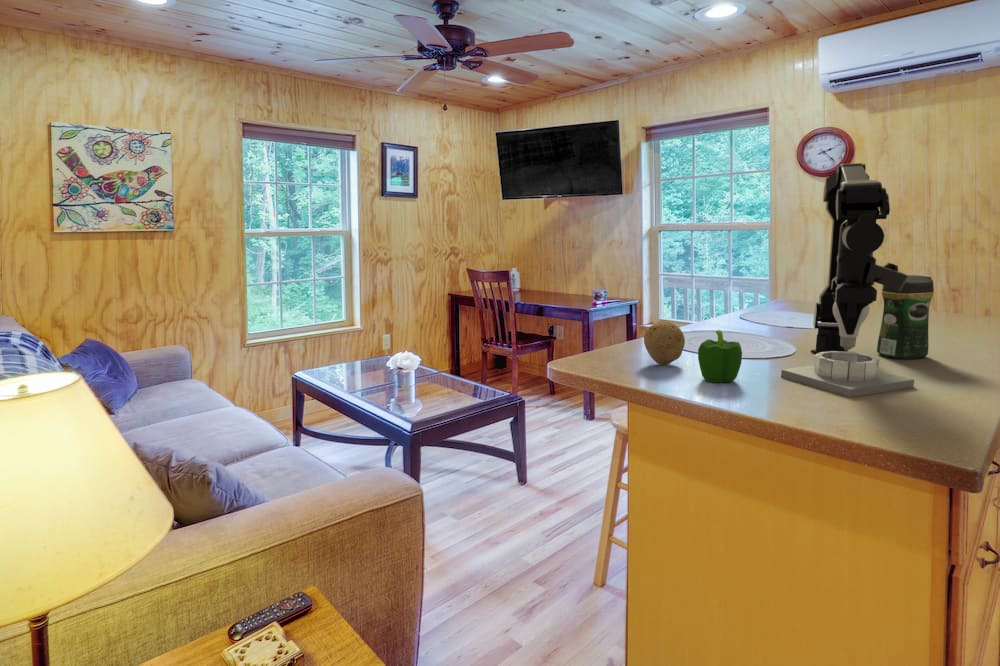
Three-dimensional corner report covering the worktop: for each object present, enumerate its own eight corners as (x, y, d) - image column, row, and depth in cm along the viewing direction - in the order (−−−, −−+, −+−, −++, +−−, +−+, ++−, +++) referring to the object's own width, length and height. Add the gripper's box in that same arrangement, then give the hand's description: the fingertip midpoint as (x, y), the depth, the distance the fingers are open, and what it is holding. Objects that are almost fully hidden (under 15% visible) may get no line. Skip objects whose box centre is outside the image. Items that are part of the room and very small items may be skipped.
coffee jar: (906, 351, 141) (914, 273, 138) (934, 358, 133) (943, 275, 130) (869, 353, 140) (876, 274, 136) (895, 360, 132) (903, 277, 129)
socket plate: (840, 368, 127) (840, 361, 126) (913, 387, 112) (914, 379, 112) (781, 376, 121) (781, 369, 121) (849, 397, 107) (850, 389, 106)
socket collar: (842, 365, 123) (843, 349, 122) (889, 377, 113) (891, 359, 113) (802, 371, 120) (804, 354, 119) (848, 383, 110) (850, 365, 109)
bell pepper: (736, 387, 114) (739, 337, 113) (693, 382, 119) (694, 333, 117) (744, 377, 121) (746, 329, 120) (703, 373, 126) (704, 327, 124)
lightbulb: (871, 350, 115) (877, 293, 113) (855, 354, 111) (860, 296, 109) (839, 345, 120) (844, 290, 118) (823, 349, 116) (827, 293, 114)
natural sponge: (652, 358, 140) (653, 316, 139) (690, 362, 135) (691, 319, 134) (637, 366, 133) (638, 322, 131) (676, 371, 128) (678, 325, 126)
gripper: (915, 254, 100) (906, 344, 103) (898, 247, 117) (891, 325, 120) (840, 254, 105) (833, 340, 108) (834, 248, 122) (828, 323, 124)
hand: (848, 331), depth 115 cm, fingers closed on lightbulb, 5 cm apart
